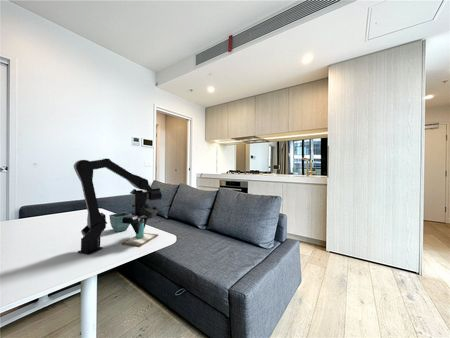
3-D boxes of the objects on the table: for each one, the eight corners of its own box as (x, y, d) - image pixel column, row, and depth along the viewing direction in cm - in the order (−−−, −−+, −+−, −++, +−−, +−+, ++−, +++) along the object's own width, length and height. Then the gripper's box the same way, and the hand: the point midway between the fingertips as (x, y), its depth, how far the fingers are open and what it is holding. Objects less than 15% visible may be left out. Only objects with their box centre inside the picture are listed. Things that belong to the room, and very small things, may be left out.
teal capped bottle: (140, 238, 94) (141, 220, 94) (134, 237, 95) (134, 220, 95) (145, 236, 98) (145, 218, 98) (139, 235, 99) (139, 218, 99)
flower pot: (115, 233, 103) (115, 217, 103) (108, 230, 108) (108, 214, 108) (131, 230, 110) (131, 214, 110) (124, 226, 115) (124, 212, 115)
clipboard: (140, 246, 87) (140, 243, 87) (121, 244, 90) (121, 241, 90) (158, 235, 102) (158, 233, 102) (142, 233, 104) (142, 231, 104)
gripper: (142, 207, 86) (141, 241, 86) (164, 200, 104) (163, 228, 104) (121, 205, 88) (120, 238, 88) (146, 199, 106) (145, 226, 107)
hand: (139, 232), depth 97 cm, fingers closed on teal capped bottle, 4 cm apart
